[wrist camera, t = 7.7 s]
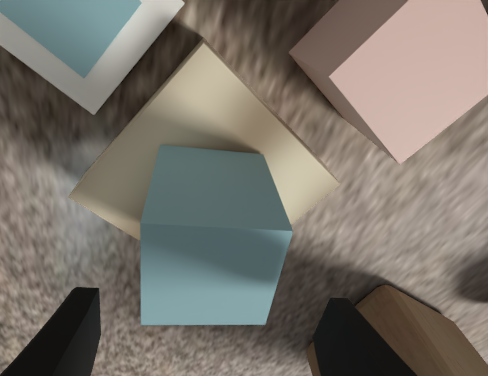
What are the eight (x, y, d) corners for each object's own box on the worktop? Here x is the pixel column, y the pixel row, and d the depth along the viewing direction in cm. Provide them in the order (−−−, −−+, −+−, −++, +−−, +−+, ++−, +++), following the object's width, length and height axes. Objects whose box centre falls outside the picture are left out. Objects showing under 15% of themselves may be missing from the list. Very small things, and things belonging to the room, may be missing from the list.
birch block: (322, 161, 20) (340, 184, 18) (213, 254, 23) (214, 287, 20) (203, 36, 16) (203, 42, 13) (86, 170, 19) (68, 197, 16)
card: (185, 3, 15) (184, 3, 14) (95, 113, 17) (92, 116, 16) (33, -157, 12) (27, -163, 11) (-54, 1, 14) (-62, 1, 13)
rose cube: (419, 51, 17) (514, 73, 12) (343, 118, 18) (399, 164, 13) (369, -31, 15) (458, -48, 10) (288, 52, 16) (328, 76, 11)
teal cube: (263, 154, 16) (293, 231, 11) (247, 232, 19) (265, 324, 13) (159, 144, 15) (140, 223, 10) (157, 228, 18) (140, 325, 13)
